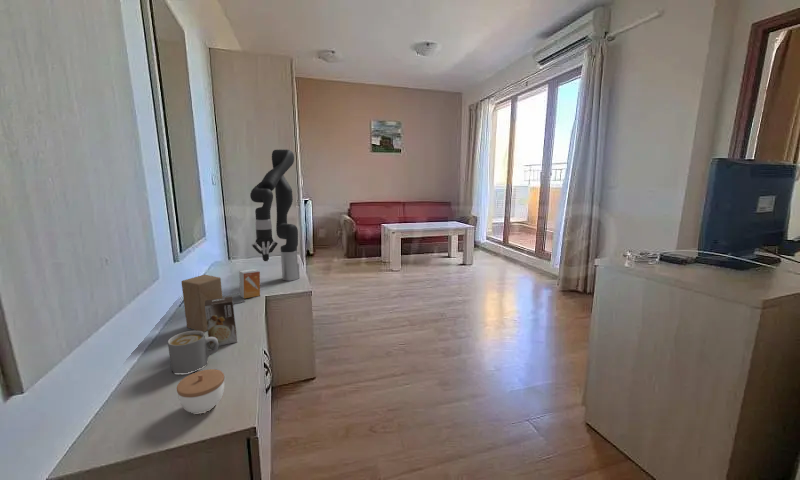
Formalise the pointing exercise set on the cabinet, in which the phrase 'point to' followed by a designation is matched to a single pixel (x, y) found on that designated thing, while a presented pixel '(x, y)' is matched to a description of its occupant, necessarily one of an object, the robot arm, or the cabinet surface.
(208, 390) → the lidded jar
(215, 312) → the coffee box
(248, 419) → the cabinet surface
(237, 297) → the mat
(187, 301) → the wooden block
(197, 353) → the coffee mug
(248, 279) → the small box
